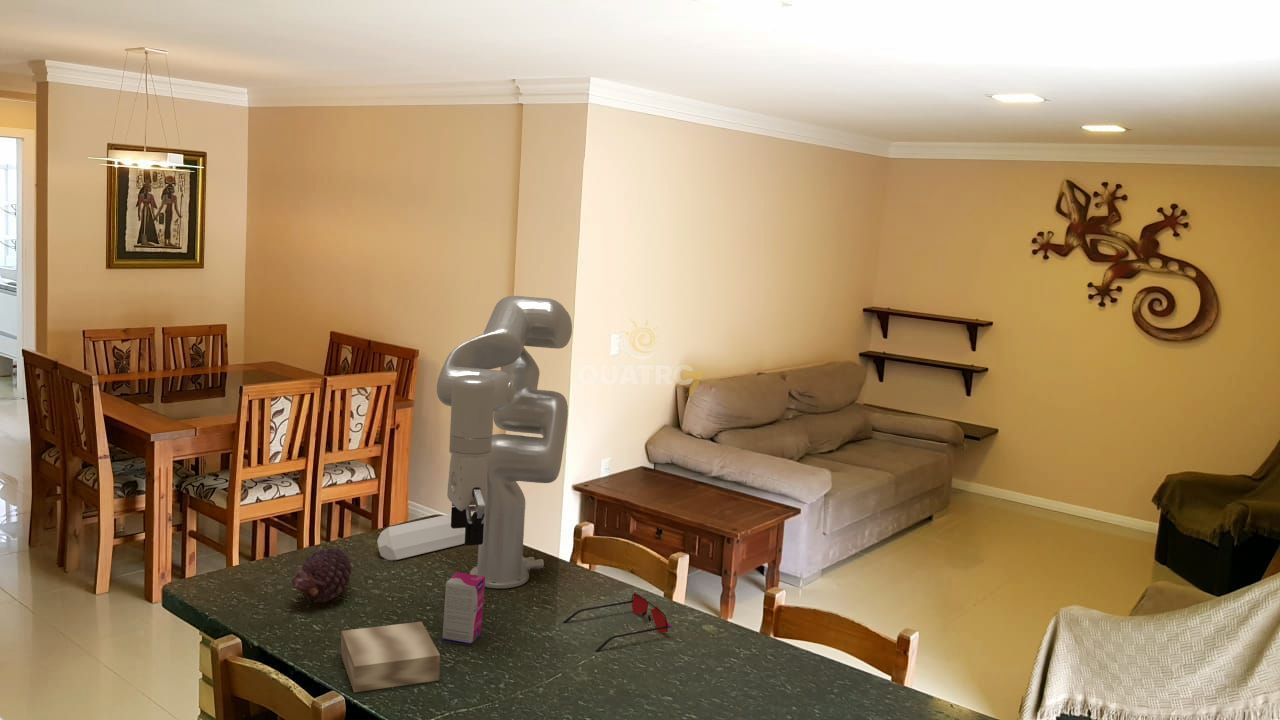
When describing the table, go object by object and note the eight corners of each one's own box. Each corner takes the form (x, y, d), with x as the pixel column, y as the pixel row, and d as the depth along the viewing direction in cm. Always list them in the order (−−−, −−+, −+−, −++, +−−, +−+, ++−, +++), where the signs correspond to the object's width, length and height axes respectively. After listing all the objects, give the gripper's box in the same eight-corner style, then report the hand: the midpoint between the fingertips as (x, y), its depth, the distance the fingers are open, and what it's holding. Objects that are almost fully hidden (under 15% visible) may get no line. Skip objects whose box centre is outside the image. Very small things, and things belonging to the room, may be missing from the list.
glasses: (671, 639, 191) (673, 614, 190) (595, 654, 182) (597, 628, 182) (634, 611, 203) (636, 588, 202) (562, 624, 194) (563, 600, 193)
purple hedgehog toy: (325, 578, 207) (326, 532, 206) (369, 585, 206) (371, 539, 204) (279, 610, 190) (280, 561, 189) (327, 618, 189) (328, 568, 187)
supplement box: (471, 646, 181) (474, 586, 180) (441, 641, 182) (443, 582, 181) (483, 633, 187) (485, 575, 185) (453, 628, 188) (455, 571, 186)
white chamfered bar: (454, 516, 241) (366, 535, 224) (470, 509, 236) (381, 528, 219) (462, 546, 239) (374, 568, 222) (478, 539, 235) (389, 560, 217)
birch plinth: (420, 645, 180) (421, 621, 180) (439, 680, 168) (440, 655, 167) (340, 655, 174) (341, 630, 174) (354, 692, 162) (354, 666, 161)
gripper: (438, 434, 185) (434, 522, 187) (462, 456, 169) (458, 553, 172) (477, 433, 188) (473, 520, 191) (505, 455, 173) (500, 549, 175)
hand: (466, 535), depth 181 cm, fingers open, 9 cm apart
